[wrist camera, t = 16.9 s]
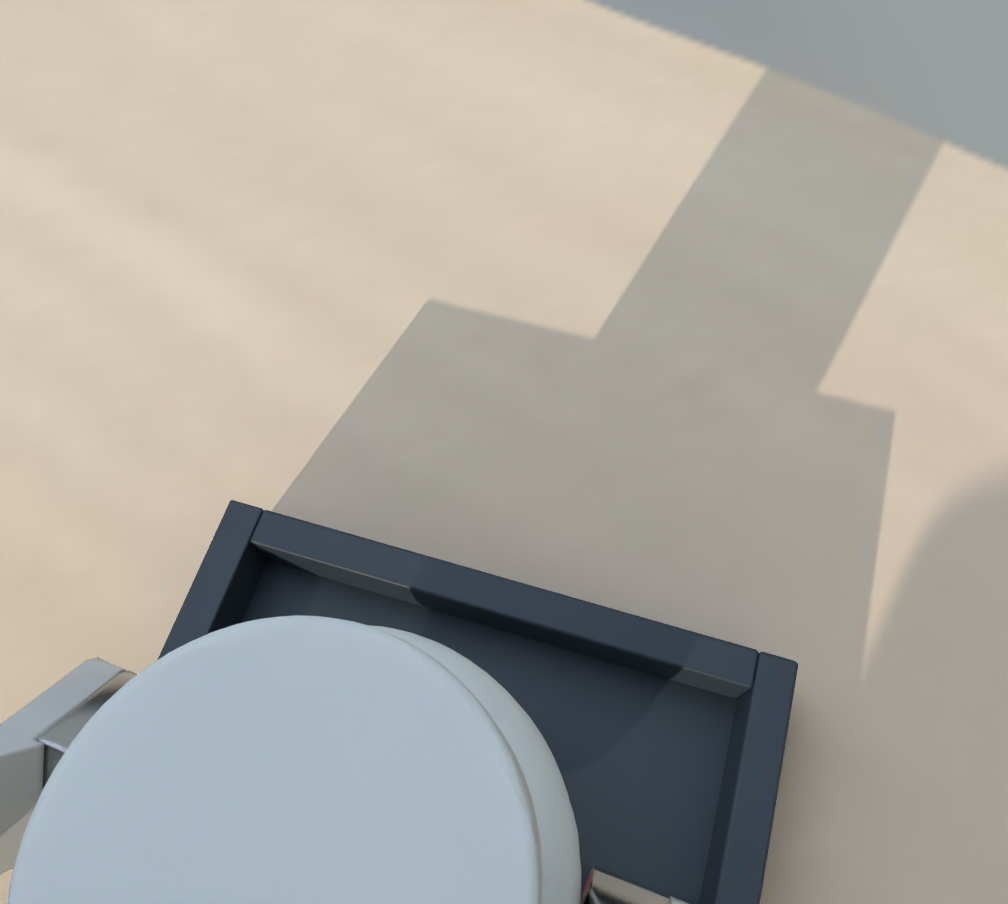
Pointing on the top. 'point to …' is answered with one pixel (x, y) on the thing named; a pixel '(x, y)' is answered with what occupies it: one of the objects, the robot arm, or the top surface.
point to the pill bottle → (304, 781)
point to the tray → (554, 691)
